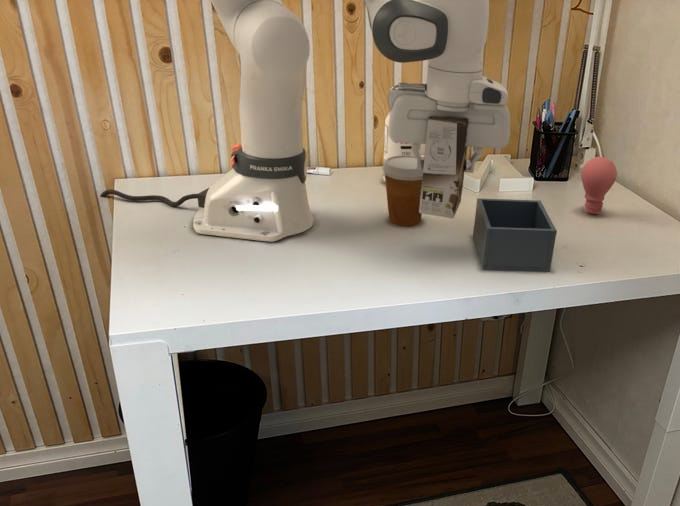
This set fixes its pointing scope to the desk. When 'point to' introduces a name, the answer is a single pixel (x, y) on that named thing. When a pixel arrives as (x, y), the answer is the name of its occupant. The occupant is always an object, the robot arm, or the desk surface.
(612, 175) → the light bulb
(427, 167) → the coffee box
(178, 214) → the desk surface
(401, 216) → the disposable coffee cup
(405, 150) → the supplement can
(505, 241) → the open box
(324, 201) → the desk surface
